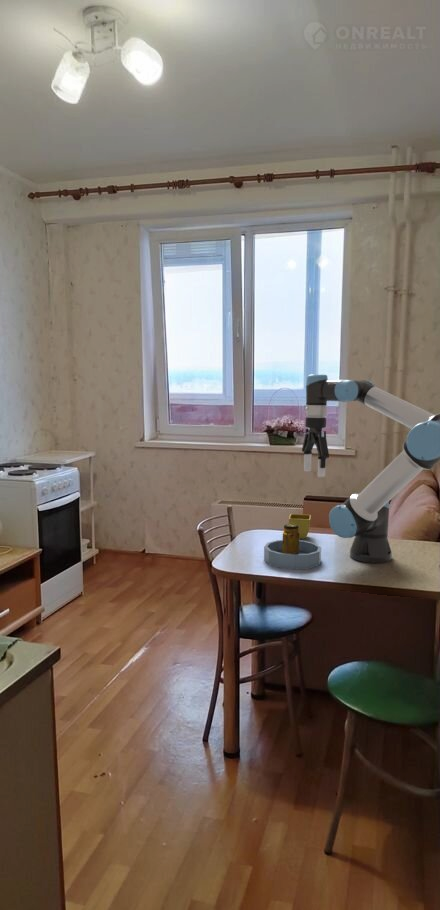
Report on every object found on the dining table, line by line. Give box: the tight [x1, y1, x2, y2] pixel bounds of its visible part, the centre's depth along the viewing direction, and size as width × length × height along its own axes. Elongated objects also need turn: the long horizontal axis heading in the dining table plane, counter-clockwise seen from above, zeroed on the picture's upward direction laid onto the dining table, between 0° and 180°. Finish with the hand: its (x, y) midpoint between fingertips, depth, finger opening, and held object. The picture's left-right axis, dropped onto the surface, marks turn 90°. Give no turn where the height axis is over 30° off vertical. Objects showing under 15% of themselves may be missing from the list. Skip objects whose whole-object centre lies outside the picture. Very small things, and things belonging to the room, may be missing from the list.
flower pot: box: [288, 513, 312, 540], centre depth 244 cm, size 9×9×9 cm
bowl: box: [263, 539, 322, 570], centre depth 212 cm, size 20×20×5 cm
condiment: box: [282, 523, 300, 554], centre depth 211 cm, size 7×8×12 cm
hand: (314, 474), depth 217 cm, fingers open, 13 cm apart
